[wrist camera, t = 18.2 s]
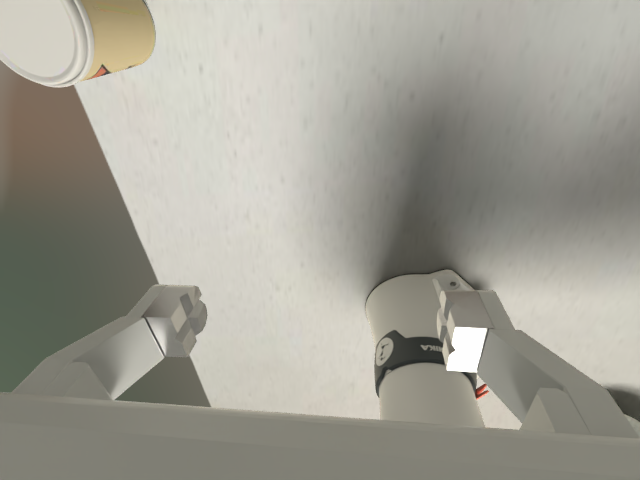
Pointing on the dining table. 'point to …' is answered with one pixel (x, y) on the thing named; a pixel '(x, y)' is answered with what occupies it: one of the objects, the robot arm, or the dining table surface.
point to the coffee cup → (74, 38)
